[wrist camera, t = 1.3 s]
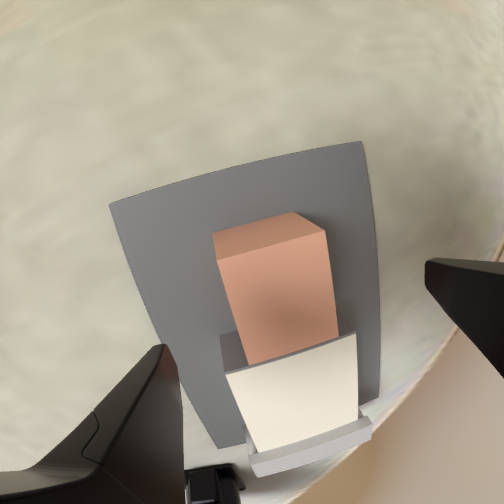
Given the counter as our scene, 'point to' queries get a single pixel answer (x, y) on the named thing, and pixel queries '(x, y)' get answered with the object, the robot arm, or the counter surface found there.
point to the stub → (278, 285)
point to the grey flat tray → (221, 317)
